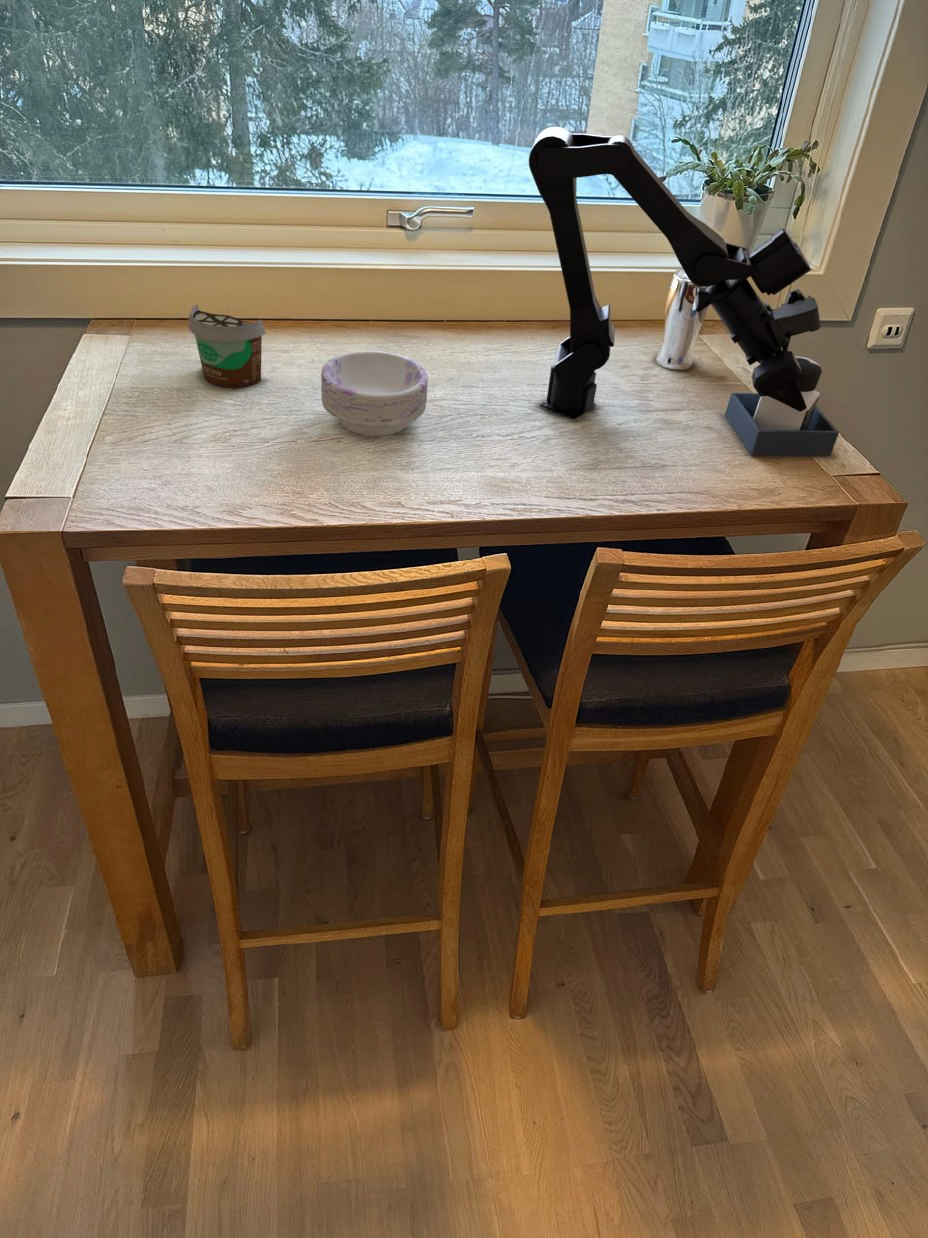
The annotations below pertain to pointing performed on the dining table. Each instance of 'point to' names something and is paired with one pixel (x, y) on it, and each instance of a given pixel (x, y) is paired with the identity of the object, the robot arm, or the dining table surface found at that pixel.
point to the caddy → (779, 431)
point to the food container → (227, 348)
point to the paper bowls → (374, 391)
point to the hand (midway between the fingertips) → (799, 396)
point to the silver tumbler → (680, 323)
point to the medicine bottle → (784, 416)
